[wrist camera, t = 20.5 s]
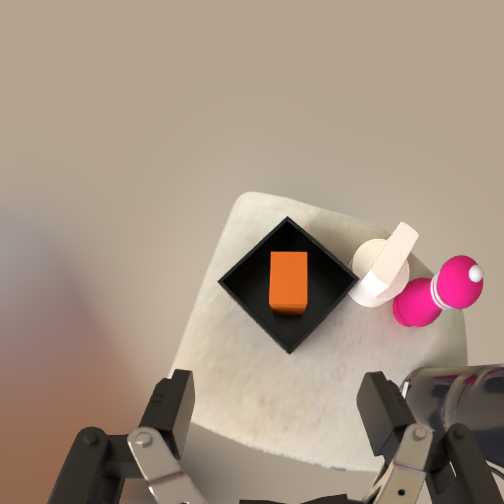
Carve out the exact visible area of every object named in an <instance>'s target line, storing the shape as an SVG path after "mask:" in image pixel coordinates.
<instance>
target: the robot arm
mask: <svg viewBox="0 0 504 504" xmlns="http://www.w3.org/2000/svg"><path fill="white" fill-rule="evenodd" d="M194 404H195V389H194V381H193V373H192V371H189V370H181V369H175V371H174V373H173V376H172V378H171V379H167V378H163V379H162V380H161V381H160V382H159V383H158V384H157V385H156V387H155V389H154V391H153V395H152V396H151V398H150V401H149V403H148V405H147V408H146V410H145V413H144V415H143V417H142V420H141V422H140V424H139V426H138V428H136V429H134V430H133V431H131V432H130V433H129V434H126V435H106V433H105V432H104V431H103V430H101V429H100V428H97V427H87V428H84V429H82V430H81V431H80V432H79V433H78V434H77V436H76V439H75V441H74V443H73V445H72V447H71V449H70V451H69V453H68V456H67V458H66V460H65V462H64V465H63V467H62V469H61V471H60V474H59V476H58V478H57V481H56V483H55V486H54V488H53V490H52V493H51V495H50V498H49V501H48V503H47V504H119V500H120V497H121V493H122V489H123V485H124V482H125V478H145V480H146V482H147V485H148V487H149V489H150V491H151V493H152V494H153V496H154V498H155V500H156V501H157V503H158V504H208V502H207V501H206V500H205V498H204V497H203V496H202V495H201V493H200V492H199V490H198V489H197V487H196V486H195V485H194V483H193V482H192V481H191V479H190V478H189V476H188V475H187V474H186V472H184V471H183V470H182V469H181V467H180V466H179V464H178V463H177V461H176V460H175V459H178V460H181V456H182V453H183V449H184V445H185V440H186V436H187V432H188V428H189V424H190V420H191V416H192V412H193V408H194ZM357 407H358V410H359V412H360V415H361V418H362V421H363V424H364V427H365V430H366V433H367V436H368V438H369V441H370V444H371V447H372V450H373V454H374V457H375V456H380V455H383V457H384V459H385V460H384V462H383V464H382V466H381V468H380V470H379V472H378V474H377V476H376V478H375V480H374V482H373V483H372V485H371V487H370V489H369V491H368V492H367V494H366V495H365V496H364V498H363V499H362V500H361V501H358V500H352V499H348V498H347V494H342V495H334V496H327V497H321V498H318V499H314V500H311V501H308V502H305V503H302V504H416V502H417V499H418V497H419V494H420V491H421V489H422V486H423V483H424V480H425V481H426V484H427V487H428V490H429V494H430V497H431V500H432V504H504V501H503V499H502V497H501V494H500V491H499V489H498V486H497V484H496V482H495V479H494V477H493V475H492V473H491V472H493V473H495V474H496V475H498V476H499V477H501V478H502V479H503V480H504V474H503V473H501V472H500V471H498V470H497V469H495V468H493V467H491V466H489V465H488V464H487V462H486V461H489V462H491V463H493V464H495V465H497V466H500V467H502V468H504V364H494V365H481V366H466V367H434V368H433V367H422V368H419V369H417V370H415V371H413V372H412V373H411V374H409V375H408V376H407V378H406V379H405V380H404V381H403V383H402V385H401V387H400V389H399V387H398V386H397V385H396V384H395V383H393V382H392V381H391V380H388V381H387V380H386V378H385V376H384V374H383V372H381V371H377V372H367V373H366V374H365V376H364V378H363V381H362V384H361V386H360V389H359V392H358V394H357ZM450 462H451V463H452V466H453V468H454V471H455V473H456V477H455V474H454V472H453V469H452V467H451V464H450ZM239 504H284V503H278V502H273V501H268V500H240V502H239Z"/></svg>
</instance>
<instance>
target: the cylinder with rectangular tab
mask: <svg viewBox="0 0 504 504" xmlns="http://www.w3.org/2000/svg"><path fill="white" fill-rule="evenodd" d="M418 236H419V234H418V233H417V232H416V231H415V230H414V229H413V228H411V226H409V225H407V224H406V223H404V222H401V223H400V224H399V225H398V227H397V229H396V230H395V231H394V232H393V234H392V235H391V237H390V238H389V239H388V240H384V239H373V240H369V241H367V242H365V243H363V244H362V245H361V246H360V247H359V248H358V249H357V251H356V252H355V254H354V256H353V258H352V259H351V261H350V263H349V264H348V266H347V267H348V268H349V269H350V270H351V271H352V272H353V273H354V274H355V275H357V276H358V277H359V278H360V280H359V281H358V282H357V283H356V284H355V285H354V287H353V288H352V289H351V290H350V291H349V292H348V293H349V295H350V297H351V298H352V299H353V300H354V301H355V302H357V303H359V304H360V305H362V306H366V307H377V306H380V305H382V304H384V303H386V302H387V301H389V300H390V299H392V298H393V297H395V296H396V295H398V294H399V293H401V292H402V290H403V289H404V288H405V287H406V285H407V282H408V280H409V273H410V271H409V263H408V261H407V256H408V254H409V253H410V251H411V249H412V247H413V245H414V243H415V242H416V240H417V238H418Z"/></svg>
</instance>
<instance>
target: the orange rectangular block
mask: <svg viewBox="0 0 504 504" xmlns="http://www.w3.org/2000/svg"><path fill="white" fill-rule="evenodd" d="M269 303H270V306H271V309H272V312H273V315H274V316H303V314H304V311H305V308H306V306H307V252H271V273H270V297H269Z"/></svg>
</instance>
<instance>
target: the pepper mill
mask: <svg viewBox="0 0 504 504" xmlns="http://www.w3.org/2000/svg"><path fill="white" fill-rule="evenodd" d="M482 288H483V269H482V267H481V266H479V265H478V264H477V263H476V262H475V261H474V260H473V259H472V258H470V257H468V256H463V255H462V256H461V255H460V256H455V257H453V258H451V259H449V260H448V261H447V262H446V263H445V264H444V265H443V266H442V268H441V270H440V271H439V272H438V273H436V274H435V275H434V277H433V279H429V278H418V279H415V280H412V281H410V282H409V283H407V285H406V287H405V288H404V289H403V290H402V292H401V293H399V294H398V295H397V296H396V297H395V299H394V303H393V312H394V315H395V318H396V319H397V321H398V322H399V323H401V324H402V325H404V326H408V327H412V326H416V327H423V326H426V325H428V324H430V323H432V322H433V321H434V320H436V318H437V317H438V316H439V315H440V313H441V311H442V309H445V310H449V309H452V308H456V309H463V308H467V307H469V306H470V305H472V304H473V303H474V302H476V300H477V299H478V298H479V296H480V294H481V292H482Z"/></svg>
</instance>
